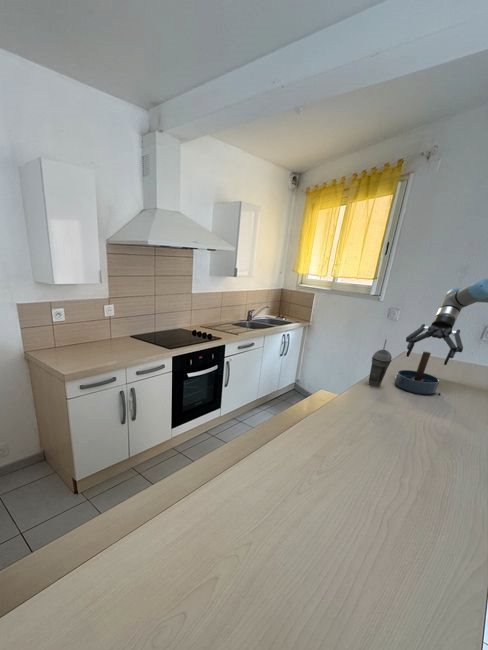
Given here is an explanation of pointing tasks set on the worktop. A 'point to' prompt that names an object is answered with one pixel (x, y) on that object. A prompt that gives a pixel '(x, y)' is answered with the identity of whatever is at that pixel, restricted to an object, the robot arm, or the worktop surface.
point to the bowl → (416, 382)
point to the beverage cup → (379, 366)
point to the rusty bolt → (421, 367)
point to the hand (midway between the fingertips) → (425, 359)
